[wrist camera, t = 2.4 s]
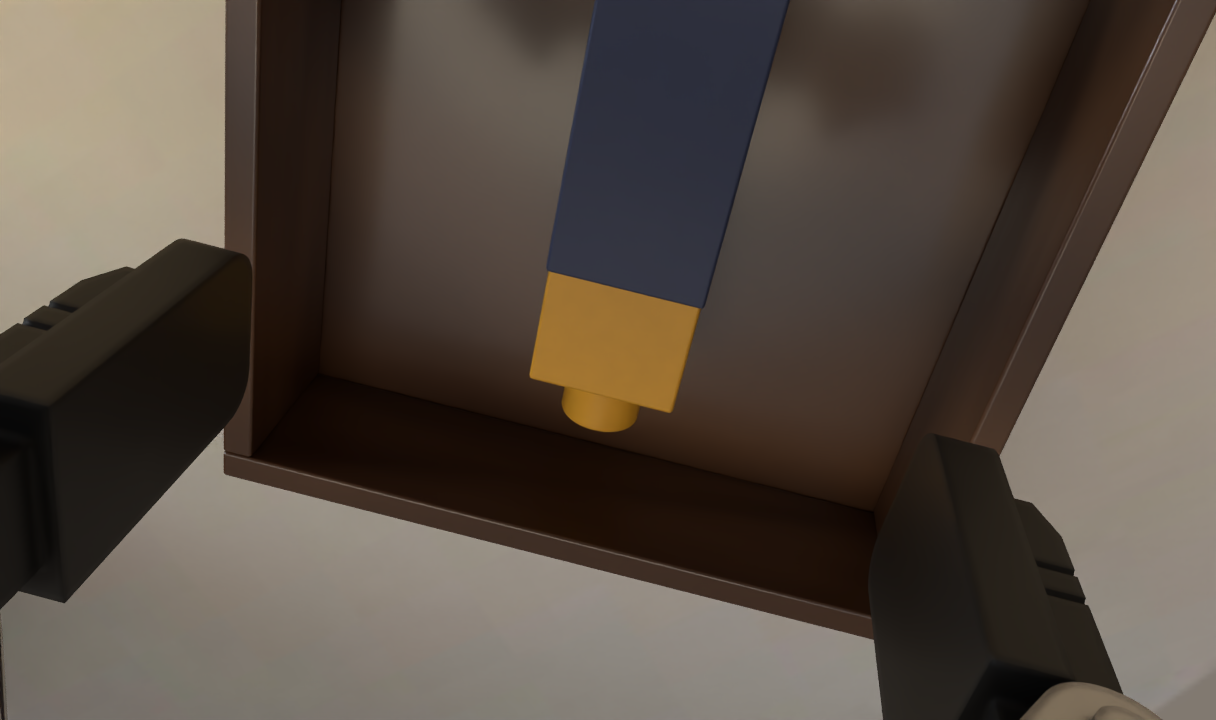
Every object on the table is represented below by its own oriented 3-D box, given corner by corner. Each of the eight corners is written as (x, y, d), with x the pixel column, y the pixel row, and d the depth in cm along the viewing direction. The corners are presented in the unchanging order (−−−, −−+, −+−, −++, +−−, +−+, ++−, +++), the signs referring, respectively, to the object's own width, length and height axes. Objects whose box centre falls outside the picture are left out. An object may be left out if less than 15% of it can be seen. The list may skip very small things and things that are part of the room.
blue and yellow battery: (643, -150, 17) (620, -141, 15) (811, -111, 17) (816, -96, 14) (545, 360, 22) (515, 431, 20) (673, 392, 22) (660, 467, 20)
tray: (342, -406, 16) (224, -461, 13) (1209, -210, 16) (1328, -213, 12) (302, 377, 24) (222, 475, 20) (887, 524, 24) (906, 649, 20)
